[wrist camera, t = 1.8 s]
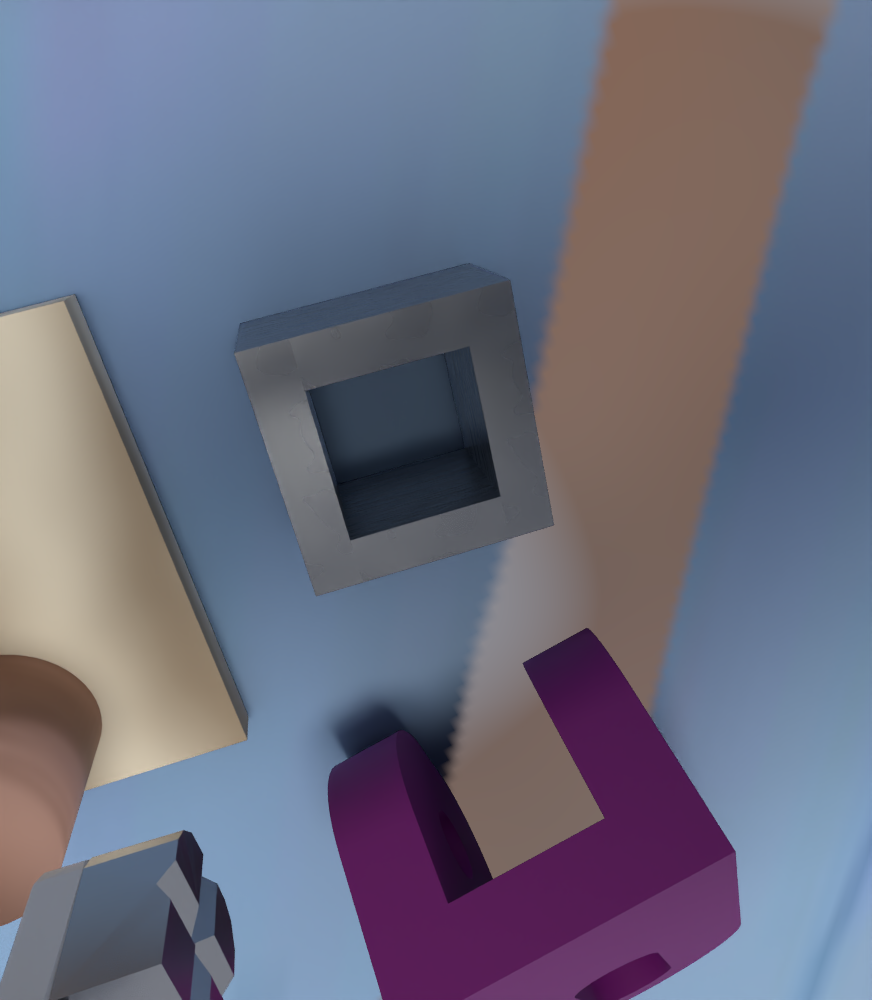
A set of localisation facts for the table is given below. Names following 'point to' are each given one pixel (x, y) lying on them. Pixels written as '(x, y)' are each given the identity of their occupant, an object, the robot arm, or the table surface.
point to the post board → (86, 602)
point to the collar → (417, 486)
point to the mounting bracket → (538, 861)
